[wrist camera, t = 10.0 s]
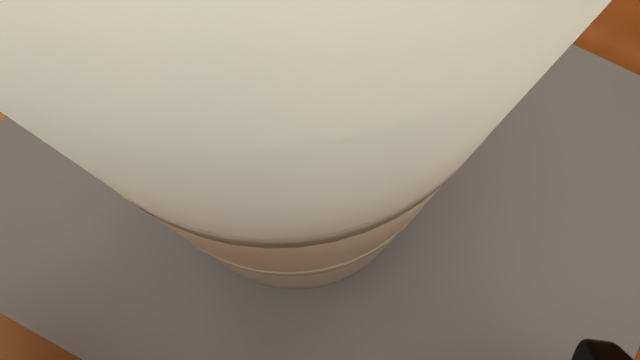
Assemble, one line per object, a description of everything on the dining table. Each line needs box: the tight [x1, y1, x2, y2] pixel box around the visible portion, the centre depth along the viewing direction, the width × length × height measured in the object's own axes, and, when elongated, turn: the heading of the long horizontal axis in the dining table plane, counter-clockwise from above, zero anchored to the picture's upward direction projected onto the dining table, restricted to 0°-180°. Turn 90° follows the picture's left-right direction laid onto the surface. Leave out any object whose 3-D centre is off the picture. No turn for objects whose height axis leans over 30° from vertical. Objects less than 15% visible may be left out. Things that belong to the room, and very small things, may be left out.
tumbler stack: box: [0, 0, 612, 289], centre depth 10 cm, size 6×6×13 cm
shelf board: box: [0, 44, 640, 360], centre depth 17 cm, size 18×14×2 cm
